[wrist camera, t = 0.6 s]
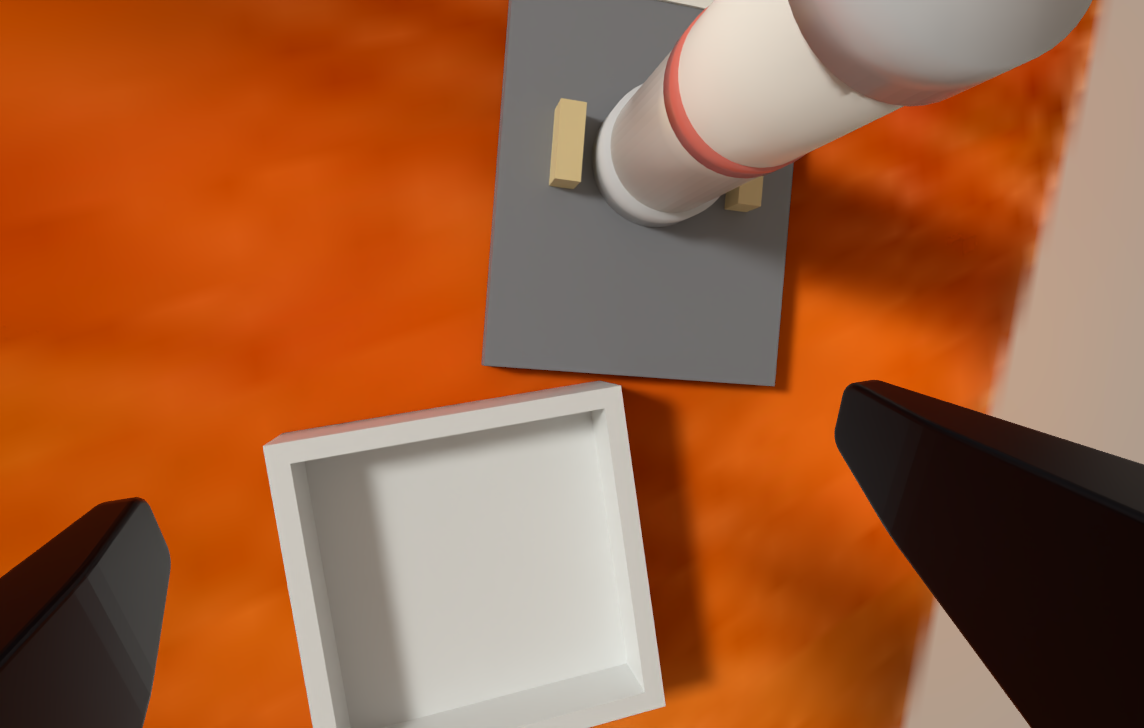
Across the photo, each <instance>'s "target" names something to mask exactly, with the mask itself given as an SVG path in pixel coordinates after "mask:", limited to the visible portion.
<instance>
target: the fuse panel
mask: <svg viewBox="0 0 1144 728" xmlns="http://www.w3.org/2000/svg"><path fill="white" fill-rule="evenodd" d="M713 1H714V0H509V8H508V22H507V35H506V48H505V61H504V74H503V88H502V101H501V114H500V127H499V140H498V154H497V167H496V180H495V193H494V206H493V219H492V233H491V246H490V259H489V272H488V285H487V299H486V312H485V325H484V338H483V351H482V365H484V366H498V367H512V368H526V369H540V370H554V371H568V372H582V373H596V374H610V375H624V376H638V377H652V378H666V379H680V380H694V381H708V382H722V383H736V384H750V385H764V386H775V376H776V365H777V353H778V341H779V329H780V317H781V306H782V294H783V282H784V270H785V258H786V247H787V235H788V223H789V211H790V199H791V188H792V176H793V164H794V162H793V163H791V164H789V165H787V166H785V167H783V168H781V169H779V170H777V171H775V172H772V173H770V174H767V175H765V176H760V177H757V178H755V179H753V180H751V181H749V182H747V183H745V184H743V185H741V186H739V187H737V188H735V189H733V190H731V191H729V192H727V193H725V194H723V195H721V196H720V197H719V198H718V199H717V200H716V201H715V202H714V203H713V204H712V205H711V206H710V207H708V208H707V209H706V210H704V211H702V212H700V213H699V214H696V215H694V216H692V217H690V218H688V219H686V220H683V221H681V222H679V223H676V224H674V225H670V226H666V227H646V226H641V225H638V224H635V223H632V222H630V221H628V220H626V219H625V218H623V217H622V216H620V215H619V214H618V213H616V212H615V211H614V210H613V209H612V208H611V207H610V206H609V205H608V204H607V202H606V201H605V200H604V198H603V197H602V195H601V193H600V191H599V189H598V187H597V185H596V182H595V179H594V175H593V170H592V148H593V143H594V139H595V136H596V134H597V131H598V129H599V128H600V126H601V124H602V122H603V121H604V120H605V119H606V117H607V116H608V115H609V113H610V112H611V111H612V110H613V109H614V107H615V106H616V105H617V104H618V102H619V101H620V100H621V99H622V98H623V97H624V96H625V95H626V94H627V93H628V92H630V91H631V90H632V89H634V88H636V87H638V86H639V85H641V84H643V83H644V82H645V81H646V80H647V79H648V77H649V76H650V75H651V74H652V73H653V72H654V70H655V69H656V68H657V67H658V66H659V64H660V63H661V62H662V61H663V60H664V59H665V57H666V56H667V55H668V54H669V53H670V52H671V50H672V49H673V47H674V46H675V44H676V42H677V41H678V39H679V38H680V37H681V35H682V34H683V33H684V32H685V30H686V29H687V28H688V27H689V26H690V24H691V23H692V22H693V21H694V20H695V18H696V17H697V16H698V15H699V14H700V13H701V12H702V11H703V10H704V9H706V8H707V7H708V6H710V4H711V3H712V2H713Z"/></svg>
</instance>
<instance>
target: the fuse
mask: <svg viewBox="0 0 1144 728" xmlns="http://www.w3.org/2000/svg"><path fill="white" fill-rule="evenodd" d="M1091 2H1092V0H714V1H713V2H712V3H711V4H710V6H708V7H707V8H706V9H704V10H703V11H702V12H701V13H700V14H699V15H698V16H697V17H696V18H695V20H694V21H693V22H692V23H691V24H690V26H689V27H688V28H687V29H686V30H685V32H684V33H683V34H682V35H681V37H680V38H679V39H678V41H677V42H676V44H675V46H674V47H673V49H672V50H671V52H670V53H669V54H668V55H667V56H666V57H665V59H664V60H663V61H662V62H661V63H660V64H659V66H658V67H657V68H656V69H655V70H654V72H653V73H652V74H651V75H650V76H649V77H648V79H647V80H646V81H645V82H644V83H643V84H641V85H639V86H638V87H636V88H634V89H632V90H631V91H630V92H628V93H627V94H626V95H625V96H624V97H623V98H622V99H621V100H620V101H619V102H618V104H617V105H616V106H615V107H614V109H613V110H612V111H611V112H610V113H609V115H608V116H607V117H606V119H605V120H604V121H603V122H602V124H601V126H600V128H599V129H598V131H597V134H596V136H595V139H594V143H593V148H592V170H593V175H594V179H595V182H596V185H597V187H598V189H599V191H600V193H601V195H602V197H603V198H604V200H605V201H606V202H607V204H608V205H609V206H610V207H611V208H612V209H613V210H614V211H615V212H616V213H618V214H619V215H620V216H622V217H623V218H625V219H626V220H628V221H630V222H632V223H635V224H638V225H641V226H646V227H666V226H670V225H674V224H676V223H679V222H681V221H683V220H686V219H688V218H690V217H692V216H694V215H696V214H699V213H700V212H702V211H704V210H706V209H707V208H708V207H710V206H711V205H712V204H713V203H714V202H715V201H716V200H717V199H718V198H719V197H720V196H721V195H723V194H725V193H727V192H729V191H731V190H733V189H735V188H737V187H739V186H741V185H743V184H745V183H747V182H749V181H751V180H753V179H755V178H757V177H760V176H765V175H767V174H770V173H772V172H775V171H777V170H779V169H781V168H783V167H785V166H787V165H789V164H791V163H793V162H795V161H797V160H798V159H800V158H801V157H803V156H804V155H805V154H807V153H809V152H811V151H813V150H815V149H817V148H819V147H821V146H823V145H825V144H827V143H829V142H831V141H833V140H835V139H837V138H839V137H841V136H844V135H846V134H848V133H850V132H852V131H854V130H856V129H858V128H860V127H862V126H864V125H866V124H868V123H870V122H872V121H874V120H876V119H878V118H880V117H882V116H884V115H887V114H889V113H891V112H893V111H895V110H897V109H899V108H901V107H903V106H920V105H927V104H932V103H936V102H940V101H942V100H945V99H947V98H950V97H952V96H954V95H957V94H959V93H961V92H963V91H965V90H967V89H970V88H972V87H974V86H976V85H978V84H980V83H983V82H985V81H987V80H989V79H991V78H993V77H996V76H998V75H1000V74H1002V73H1004V72H1006V71H1009V70H1011V69H1013V68H1015V67H1017V66H1019V65H1022V64H1024V63H1026V62H1028V61H1030V60H1032V59H1035V58H1037V57H1039V56H1040V55H1042V54H1044V53H1045V52H1047V51H1049V50H1050V49H1052V48H1053V47H1055V46H1056V45H1057V44H1058V43H1059V42H1061V41H1062V40H1063V39H1064V38H1065V37H1066V36H1067V35H1068V34H1069V33H1070V32H1071V31H1072V30H1073V29H1074V28H1075V26H1076V25H1077V24H1078V23H1079V21H1080V20H1081V18H1082V17H1083V15H1084V14H1085V13H1086V11H1087V9H1088V8H1089V6H1090V4H1091Z"/></svg>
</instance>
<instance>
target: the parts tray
mask: <svg viewBox="0 0 1144 728" xmlns="http://www.w3.org/2000/svg"><path fill="white" fill-rule="evenodd" d="M263 450H264V455H265V461H266V467H267V472H268V478H269V483H270V489H271V495H272V500H273V506H274V511H275V517H276V523H277V528H278V534H279V539H280V545H281V551H282V556H283V562H284V567H285V573H286V579H287V584H288V590H289V595H290V601H291V607H292V612H293V618H294V623H295V629H296V635H297V640H298V646H299V651H300V657H301V663H302V668H303V674H304V679H305V685H306V691H307V696H308V702H309V707H310V713H311V719H312V724H313V728H589V727H593V726H596V725H600V724H603V723H607V722H610V721H614V720H618V719H621V718H625V717H628V716H632V715H635V714H639V713H643V712H646V711H650V710H653V709H657V708H660V707H664V706H666V705H665V697H664V690H663V683H662V676H661V669H660V662H659V654H658V647H657V640H656V633H655V626H654V619H653V611H652V604H651V597H650V590H649V583H648V576H647V569H646V561H645V554H644V547H643V540H642V533H641V526H640V518H639V511H638V504H637V497H636V490H635V483H634V475H633V468H632V461H631V454H630V447H629V440H628V432H627V425H626V418H625V411H624V404H623V397H622V390H621V385H616V384H612V383H608V382H604V381H594V382H588V383H582V384H576V385H570V386H564V387H558V388H552V389H546V390H540V391H534V392H528V393H522V394H516V395H510V396H504V397H498V398H492V399H486V400H480V401H474V402H468V403H462V404H456V405H450V406H444V407H438V408H432V409H426V410H420V411H414V412H408V413H402V414H396V415H390V416H384V417H378V418H372V419H366V420H360V421H354V422H348V423H342V424H336V425H330V426H324V427H318V428H312V429H305V430H299V431H293V432H287V433H282V434H281V435H279V436H278V437H276V438H275V439H273V440H272V441H270V442H268V443H267V444H265V445H264V446H263Z"/></svg>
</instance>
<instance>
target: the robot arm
mask: <svg viewBox="0 0 1144 728" xmlns="http://www.w3.org/2000/svg"><path fill="white" fill-rule="evenodd" d="M835 442H836V445H837V447H838V450H839V451H840V453H841V455H842V456H843V458H844V460H845V461H846V463H847V465H848V466H849V468H850V470H851V472H852V473H853V475H854V477H855V478H856V480H857V482H858V483H859V485H860V487H861V488H862V490H863V492H864V493H865V495H866V497H867V498H868V500H869V502H870V504H871V505H872V507H873V509H874V510H875V512H876V514H877V515H878V517H879V519H880V520H881V522H882V524H883V525H884V527H885V528H886V530H887V531H888V533H889V535H890V536H891V538H892V539H893V540H894V542H895V543H896V545H897V546H898V548H899V549H900V550H901V552H902V553H903V554H904V556H905V557H906V559H907V560H908V561H909V563H910V564H911V565H912V567H913V568H914V569H915V571H916V572H917V573H918V575H919V576H920V578H921V579H922V580H923V582H924V583H925V584H926V586H927V587H928V588H929V590H930V591H931V592H932V594H933V595H934V597H935V598H936V599H937V601H938V602H939V603H940V605H941V606H942V607H943V609H944V610H945V612H946V613H947V614H948V616H949V617H950V618H951V619H952V621H953V622H954V624H955V625H956V626H957V628H958V629H959V631H960V632H961V633H962V634H963V636H964V637H965V639H966V640H967V641H968V643H969V644H970V645H971V647H972V648H973V649H974V651H975V652H976V654H977V655H978V656H979V658H980V659H981V660H982V662H983V663H984V664H985V666H986V667H987V669H988V670H989V671H990V672H991V674H992V675H993V676H994V678H995V679H996V681H997V682H998V683H999V685H1000V686H1001V688H1002V689H1003V690H1004V692H1005V693H1006V694H1007V696H1008V697H1009V698H1010V700H1011V701H1012V702H1013V704H1014V705H1015V707H1016V708H1017V709H1018V711H1019V712H1020V713H1021V715H1022V716H1023V717H1024V719H1025V720H1026V721H1027V723H1028V724H1029V726H1030V727H1031V728H1144V465H1143V464H1140V463H1137V462H1134V461H1131V460H1127V459H1125V458H1121V457H1118V456H1115V455H1112V454H1109V453H1105V452H1103V451H1099V450H1096V449H1093V448H1090V447H1087V446H1084V445H1081V444H1077V443H1074V442H1071V441H1068V440H1065V439H1061V438H1059V437H1055V436H1052V435H1049V434H1046V433H1043V432H1040V431H1036V430H1033V429H1030V428H1027V427H1024V426H1021V425H1017V424H1015V423H1011V422H1008V421H1005V420H1002V419H999V418H996V417H993V416H989V415H986V414H983V413H980V412H977V411H974V410H971V409H967V408H964V407H961V406H958V405H955V404H952V403H949V402H945V401H942V400H939V399H936V398H933V397H930V396H927V395H923V394H920V393H917V392H914V391H911V390H908V389H905V388H901V387H898V386H895V385H892V384H889V383H886V382H883V381H879V380H869V381H863V382H857V383H852V384H850V385H848V386H847V387H846V389H845V390H844V393H843V396H842V401H841V405H840V409H839V414H838V418H837V422H836V427H835ZM170 563H171V561H170V554H169V550H168V547H167V545H166V542H165V540H164V538H163V535H162V533H161V531H160V529H159V526H158V524H157V522H156V519H155V517H154V515H153V512H152V510H151V508H150V506H149V504H148V503H147V502H146V501H145V500H144V499H142V498H139V497H134V498H127V499H121V500H115V501H108V502H103V503H101V504H99V505H97V506H95V507H94V508H93V509H91V510H90V511H89V512H87V513H86V514H85V515H83V516H82V517H81V518H79V519H78V520H77V521H75V522H74V523H73V524H71V525H70V526H69V527H68V528H66V529H65V530H64V531H62V532H61V533H60V534H58V535H57V536H56V537H54V538H53V539H52V540H50V541H49V542H48V543H46V544H45V545H44V546H42V547H41V548H40V549H38V550H37V551H36V552H34V553H33V554H32V555H30V556H29V557H28V558H26V559H25V560H24V561H22V562H21V563H20V564H18V565H17V566H16V567H14V568H13V569H12V570H10V571H9V572H8V573H6V574H5V575H4V576H2V577H1V578H0V728H142V727H143V724H144V720H145V716H146V712H147V708H148V704H149V700H150V696H151V691H152V685H153V680H154V674H155V668H156V661H157V654H158V648H159V641H160V635H161V628H162V621H163V615H164V608H165V602H166V595H167V588H168V582H169V575H170Z"/></svg>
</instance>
